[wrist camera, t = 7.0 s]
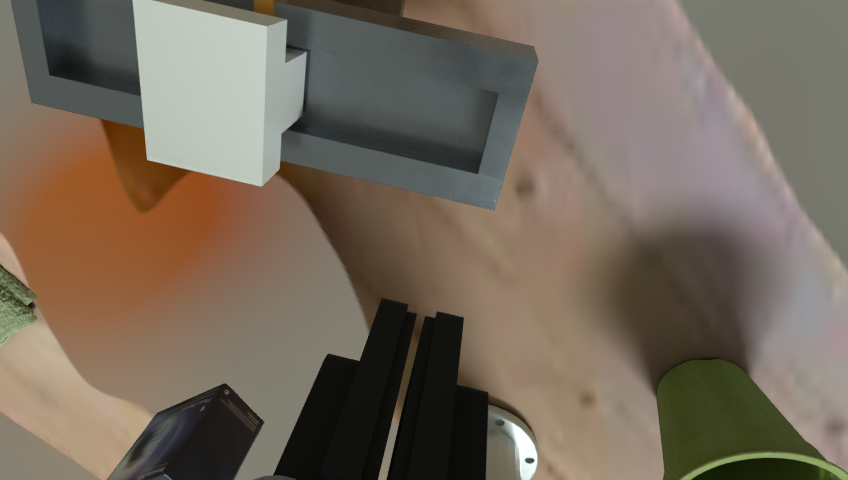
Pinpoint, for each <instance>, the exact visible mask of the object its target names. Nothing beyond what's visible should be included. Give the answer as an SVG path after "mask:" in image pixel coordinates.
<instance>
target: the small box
mask: <svg viewBox="0 0 848 480" xmlns="http://www.w3.org/2000/svg"><path fill="white" fill-rule="evenodd" d="M263 425H264V421H263V420H262V419H260V417H259V416H257V414H256V413H255V412H254V411H253V410H252V409H250V407H249V406H248V405H247V404H246V403H245V402H244V401H243V400H242V399H241V398H240V397H239V396H238V394H236V393H235V392H234V391H233V390H232V389H231V388H230V387H229V386H228V385H227V384H222V385H220V386H218V387H215V388H213V389H211V390H208V391H206V392H204V393H201V394H199V395H197V396H195V397H192V398H190V399H188V400H186V401H183V402H181V403H179V404H177V405H175V406H172V407H170V408H167V409H165V410H163V411H161V412H158V413H157V414H156V415H155V417H154V418H153V419H152V420H151V422H150V423H149V424H148V426H147V427H146V428H145V430H144V431H143V433H142V434H141V435H140V437H139V438H138V439H137V440H136V442H135V443H134V444H133V446H132V447H131V448H130V450H129V451H128V452H127V454H126V455H125V456H124V458H123V459H122V460H121V462H120V463H119V464H118V466H117V467H116V468H115V470H114V471H113V472H112V473H111V475H110V476H109V477H108V479H107V480H234V479H235V477H236V475H237V473H238V471H239V469H240V467H241V465H242V463H243V461H244V460H245V457H246V456H247V454H248V452H249V450H250V448H251V446H252V444H253V443H254V441H255V439H256V437H257V435H258V434H259V432H260V430H261V428H262V427H263Z"/></svg>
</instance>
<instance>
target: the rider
mask: <svg viewBox="0 0 848 480" xmlns="http://www.w3.org/2000/svg"><path fill="white" fill-rule="evenodd" d="M133 10H134V22H135V33H136V44H137V55H138V66H139V77H140V88H141V99H142V110H143V121H144V132H145V143H146V154H147V160H149V161H154V162H158V163H162V164H166V165H171V166H175V167H179V168H184V169H188V170H192V171H197V172H201V173H205V174H209V175H214V176H218V177H222V178H227V179H231V180H235V181H239V182H244V183H248V184H252V185H256V186H261V187H262V186H263V185H264V184H265V183H266V182H267V181H268V180H269V179H270V178H271V177H272V176H273V175H274V174H275V173H276V172H277V171H278V170H279V169H280V153H281V133H283V132H284V131H285V130H286V129H287V128H289V127H290V126H291V125H292V124H293V123H294V122H296V121H297V120H298V119H299V118H300V117H301V116H302V112H303V98H304V83H305V69H306V55H307V52H305V51H301V50H296V49H292V48H288V47H286V34H287V19H283V18H278V17H274V16H270V15H265V14H261V13H256V12H252V11H248V10H243V9H239V8H234V7H230V6H226V5H221V4H217V3H212V2H208V1H204V0H133Z"/></svg>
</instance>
